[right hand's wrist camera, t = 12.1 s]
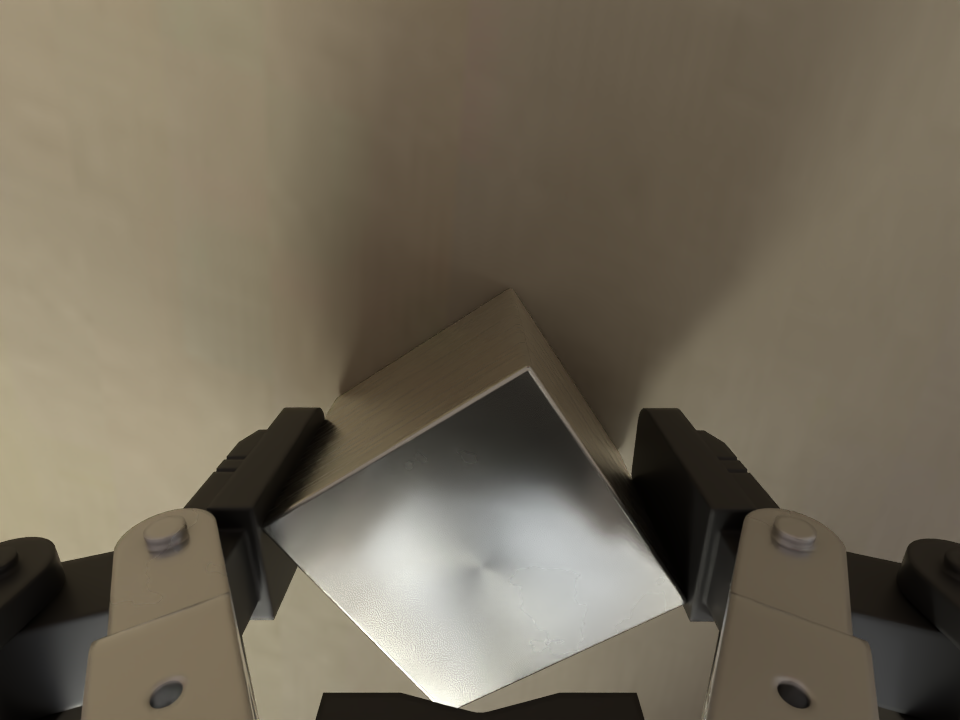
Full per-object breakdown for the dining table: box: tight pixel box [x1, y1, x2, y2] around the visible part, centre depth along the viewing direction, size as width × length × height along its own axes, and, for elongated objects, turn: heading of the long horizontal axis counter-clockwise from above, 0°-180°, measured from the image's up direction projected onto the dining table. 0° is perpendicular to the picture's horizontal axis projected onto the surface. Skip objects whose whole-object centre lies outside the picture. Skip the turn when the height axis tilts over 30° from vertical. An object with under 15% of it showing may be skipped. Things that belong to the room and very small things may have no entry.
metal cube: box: [262, 288, 687, 708], centre depth 11 cm, size 5×5×5 cm
